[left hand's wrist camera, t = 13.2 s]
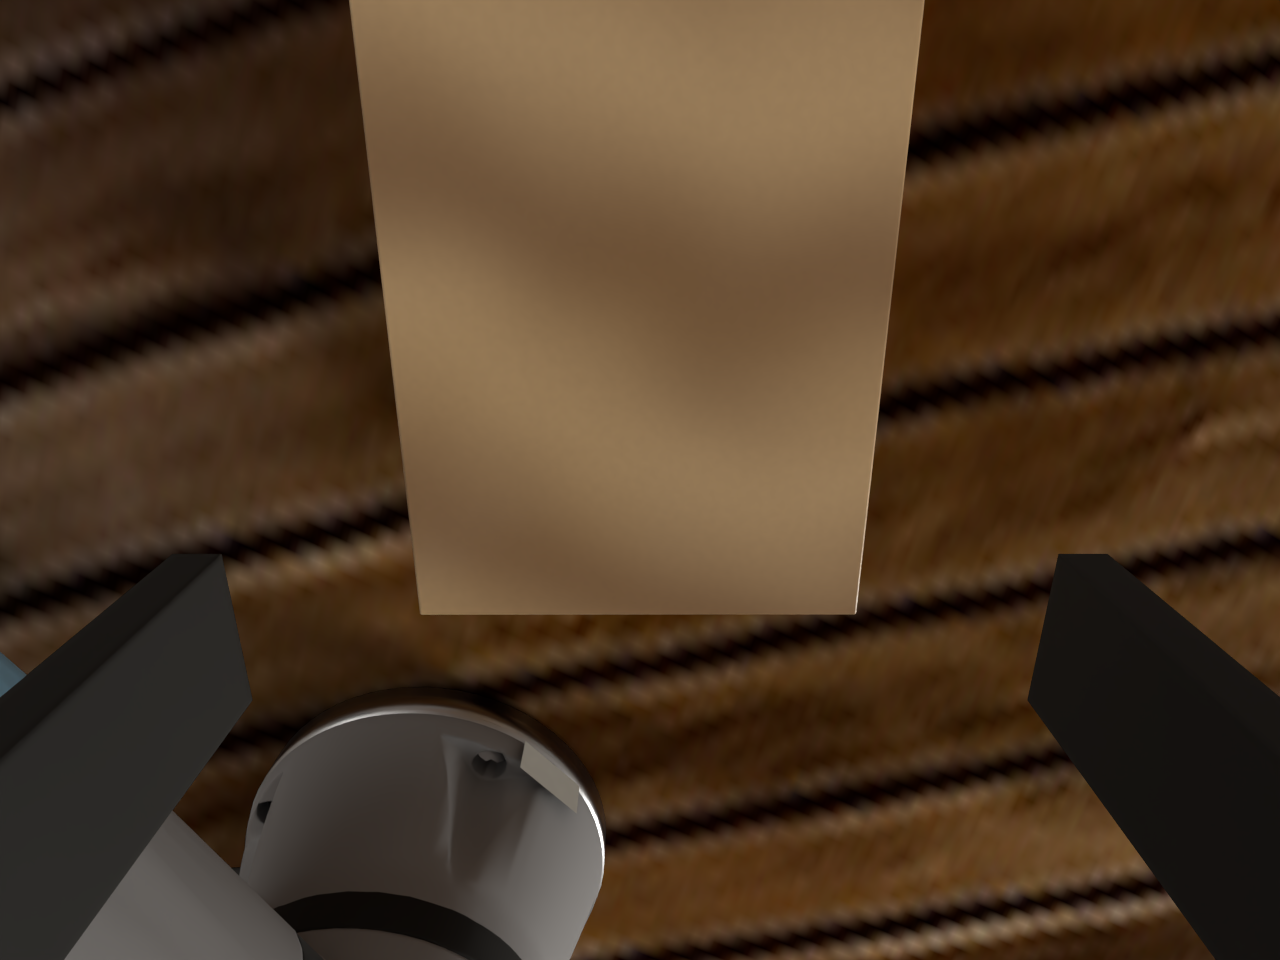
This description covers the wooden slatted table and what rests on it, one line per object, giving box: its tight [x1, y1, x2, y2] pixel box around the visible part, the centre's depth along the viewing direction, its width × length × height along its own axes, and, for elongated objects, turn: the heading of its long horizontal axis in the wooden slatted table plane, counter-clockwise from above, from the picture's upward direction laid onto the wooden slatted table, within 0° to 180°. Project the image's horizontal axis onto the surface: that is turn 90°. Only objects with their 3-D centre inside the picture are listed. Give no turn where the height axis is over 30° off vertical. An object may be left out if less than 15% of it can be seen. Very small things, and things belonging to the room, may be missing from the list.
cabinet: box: [349, 0, 925, 615], centre depth 22 cm, size 19×11×11 cm, turn 0°
